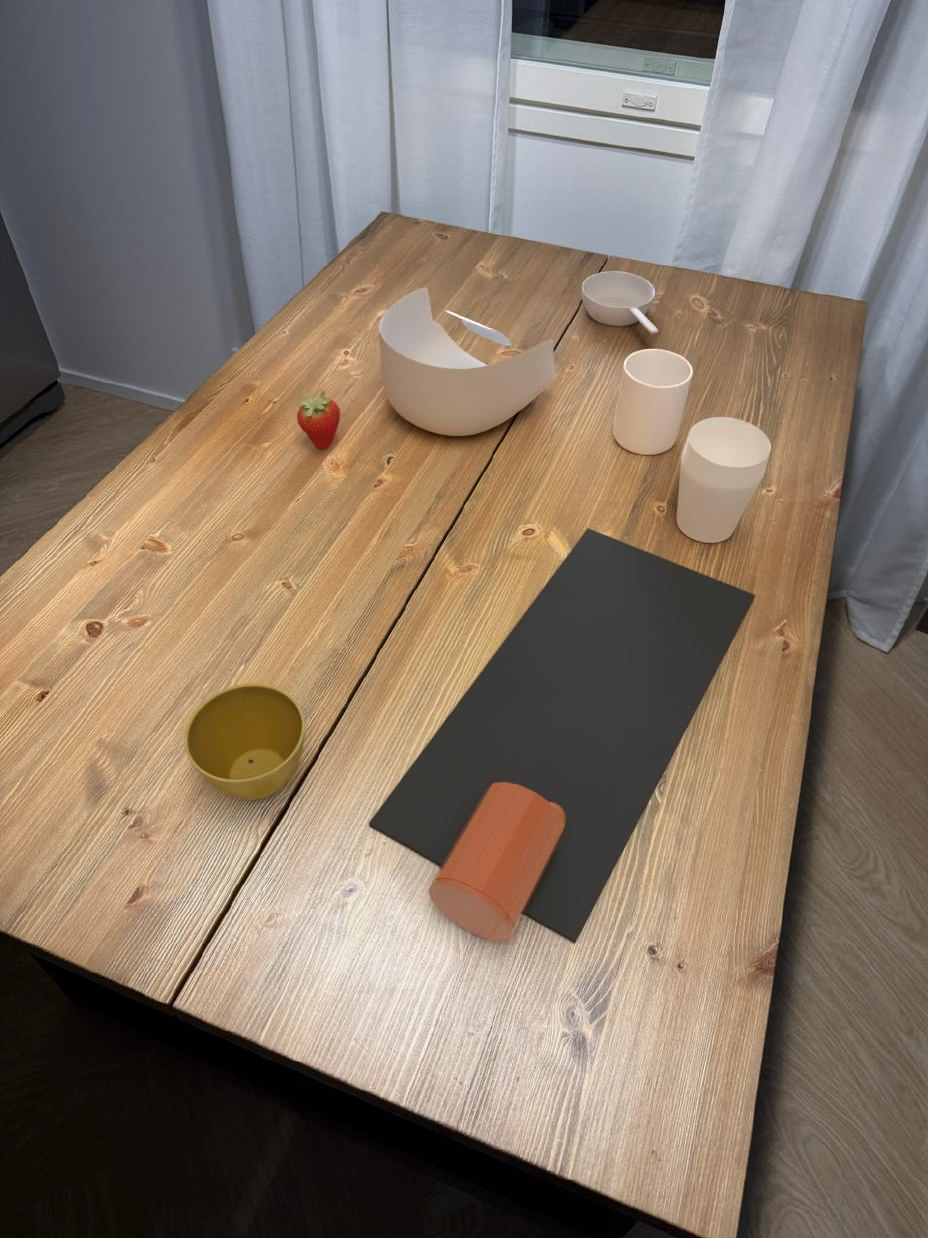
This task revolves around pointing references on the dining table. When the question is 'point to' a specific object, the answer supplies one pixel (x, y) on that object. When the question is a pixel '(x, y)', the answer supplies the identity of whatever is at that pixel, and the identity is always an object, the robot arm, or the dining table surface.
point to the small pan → (618, 299)
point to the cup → (719, 476)
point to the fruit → (319, 419)
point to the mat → (576, 715)
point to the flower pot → (246, 740)
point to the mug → (651, 401)
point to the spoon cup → (497, 861)
